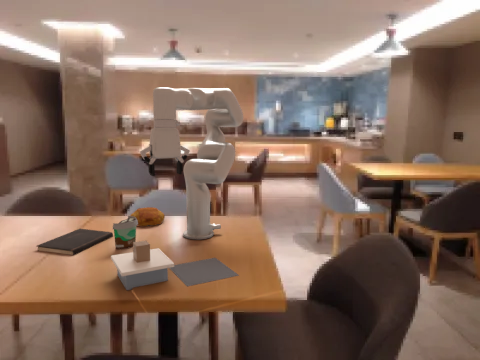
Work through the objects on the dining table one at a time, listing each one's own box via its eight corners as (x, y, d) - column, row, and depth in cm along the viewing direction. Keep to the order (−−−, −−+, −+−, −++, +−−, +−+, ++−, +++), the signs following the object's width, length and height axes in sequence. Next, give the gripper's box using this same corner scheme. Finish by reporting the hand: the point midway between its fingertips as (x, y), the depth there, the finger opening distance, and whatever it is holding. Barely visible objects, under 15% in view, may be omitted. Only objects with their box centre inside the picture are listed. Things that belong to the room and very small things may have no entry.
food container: (129, 251, 139) (128, 224, 137) (113, 250, 140) (112, 223, 138) (144, 241, 151) (143, 216, 149) (129, 240, 152) (128, 215, 150)
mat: (215, 258, 133) (215, 257, 133) (239, 276, 118) (239, 275, 118) (167, 267, 124) (167, 266, 124) (187, 288, 110) (187, 286, 110)
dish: (155, 268, 124) (155, 253, 123) (167, 282, 114) (167, 265, 113) (117, 275, 118) (116, 259, 118) (126, 290, 108) (126, 273, 107)
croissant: (132, 224, 183) (129, 207, 182) (165, 218, 186) (162, 202, 185) (130, 232, 169) (127, 214, 168) (166, 225, 172) (163, 208, 171)
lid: (158, 251, 125) (158, 233, 124) (174, 266, 112) (174, 246, 111) (111, 258, 118) (110, 239, 117) (121, 276, 105) (121, 255, 104)
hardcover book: (36, 251, 139) (36, 245, 139) (80, 233, 161) (79, 228, 161) (73, 256, 135) (73, 250, 134) (113, 237, 156) (112, 232, 156)
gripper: (184, 124, 138) (185, 171, 141) (136, 124, 130) (138, 174, 133) (192, 125, 132) (193, 174, 135) (142, 125, 124) (144, 177, 126)
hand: (166, 174), depth 134 cm, fingers open, 9 cm apart
